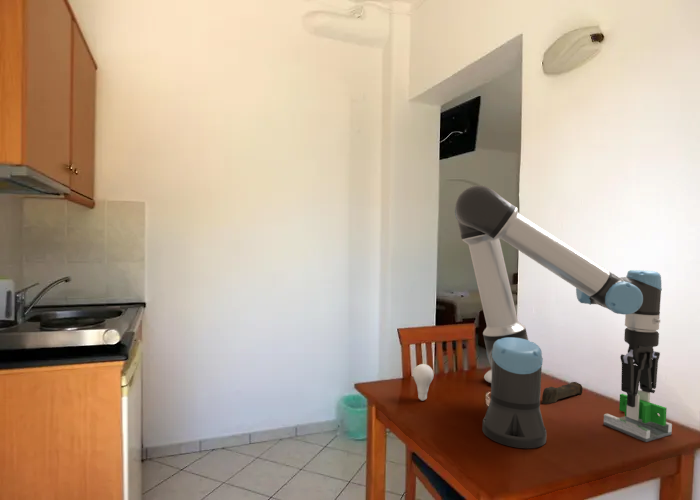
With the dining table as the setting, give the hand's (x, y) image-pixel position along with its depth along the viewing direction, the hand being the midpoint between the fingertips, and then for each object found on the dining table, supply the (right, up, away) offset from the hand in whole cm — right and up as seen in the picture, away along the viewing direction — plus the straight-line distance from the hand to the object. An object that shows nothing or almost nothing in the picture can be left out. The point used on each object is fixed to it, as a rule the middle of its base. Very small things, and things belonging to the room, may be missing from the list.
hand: (637, 416), depth 116 cm
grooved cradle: (0, -3, 0) cm, 3 cm away
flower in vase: (-25, -2, +33) cm, 41 cm away
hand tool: (-10, -3, +21) cm, 24 cm away
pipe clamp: (0, -1, 0) cm, 1 cm away
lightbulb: (-54, -2, +16) cm, 57 cm away
